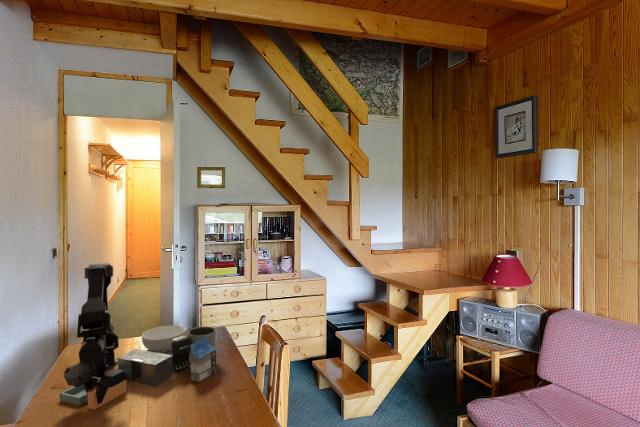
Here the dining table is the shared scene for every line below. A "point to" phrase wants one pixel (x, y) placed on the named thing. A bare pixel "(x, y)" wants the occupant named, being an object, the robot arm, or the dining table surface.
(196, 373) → the label tape cartridge
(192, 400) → the dining table surface
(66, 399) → the tray
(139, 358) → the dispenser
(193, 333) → the gray cylindrical cup
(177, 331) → the cereal bowl
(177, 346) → the battery charger
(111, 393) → the orange-brown rectangular block
